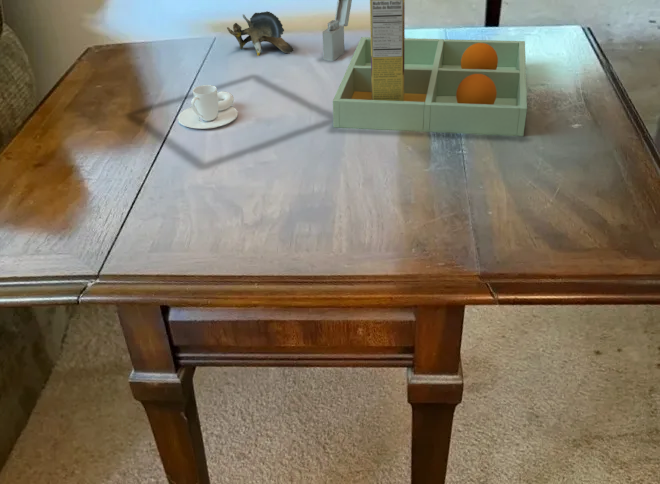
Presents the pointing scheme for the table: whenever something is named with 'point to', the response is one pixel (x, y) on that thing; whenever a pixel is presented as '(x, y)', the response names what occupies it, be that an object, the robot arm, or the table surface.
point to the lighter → (336, 32)
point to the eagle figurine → (262, 32)
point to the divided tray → (436, 91)
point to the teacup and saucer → (208, 108)
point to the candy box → (387, 49)
